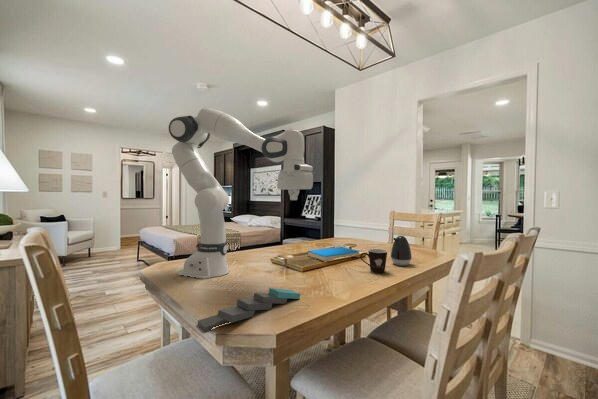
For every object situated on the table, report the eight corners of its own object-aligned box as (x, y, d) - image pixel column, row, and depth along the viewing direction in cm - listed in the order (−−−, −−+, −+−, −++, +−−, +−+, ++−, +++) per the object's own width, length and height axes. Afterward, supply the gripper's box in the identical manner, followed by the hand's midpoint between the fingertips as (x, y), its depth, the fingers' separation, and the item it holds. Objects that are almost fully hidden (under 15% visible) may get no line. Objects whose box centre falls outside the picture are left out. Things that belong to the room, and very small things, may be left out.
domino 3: (271, 309, 86) (246, 310, 79) (260, 304, 90) (236, 305, 83) (272, 303, 87) (248, 304, 79) (261, 299, 90) (237, 299, 83)
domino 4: (285, 303, 91) (262, 302, 84) (276, 299, 95) (252, 298, 88) (287, 298, 91) (263, 297, 85) (277, 294, 95) (254, 292, 89)
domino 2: (253, 316, 81) (231, 322, 72) (240, 311, 84) (217, 316, 75) (254, 310, 81) (232, 315, 73) (241, 305, 84) (218, 309, 75)
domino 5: (299, 299, 95) (277, 297, 88) (289, 294, 99) (268, 293, 92) (300, 293, 95) (278, 292, 89) (290, 289, 99) (269, 287, 93)
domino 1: (238, 322, 79) (205, 334, 72) (230, 316, 83) (197, 326, 76) (238, 316, 79) (205, 327, 72) (230, 310, 82) (197, 320, 76)
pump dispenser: (386, 263, 145) (386, 234, 144) (400, 261, 149) (401, 233, 149) (400, 268, 135) (401, 237, 135) (415, 265, 140) (416, 236, 139)
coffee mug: (389, 271, 130) (389, 250, 130) (383, 275, 123) (384, 253, 123) (365, 267, 137) (366, 247, 136) (359, 271, 130) (359, 250, 129)
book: (359, 251, 158) (324, 255, 145) (359, 258, 158) (324, 263, 145) (340, 246, 173) (307, 249, 160) (340, 253, 173) (307, 257, 160)
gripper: (273, 169, 123) (273, 199, 123) (304, 165, 107) (303, 200, 107) (284, 169, 127) (284, 199, 127) (315, 166, 111) (315, 200, 111)
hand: (293, 200), depth 117 cm, fingers closed
